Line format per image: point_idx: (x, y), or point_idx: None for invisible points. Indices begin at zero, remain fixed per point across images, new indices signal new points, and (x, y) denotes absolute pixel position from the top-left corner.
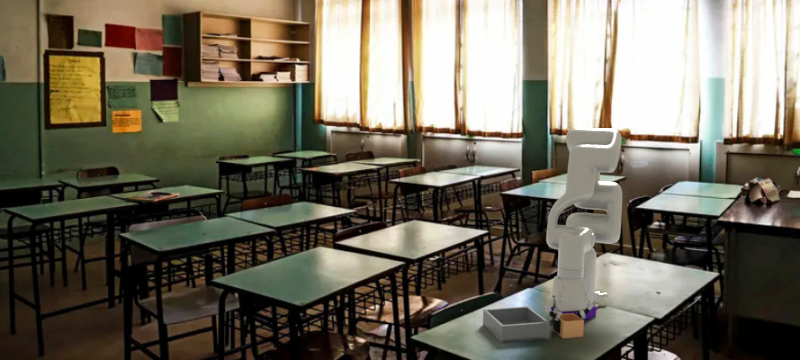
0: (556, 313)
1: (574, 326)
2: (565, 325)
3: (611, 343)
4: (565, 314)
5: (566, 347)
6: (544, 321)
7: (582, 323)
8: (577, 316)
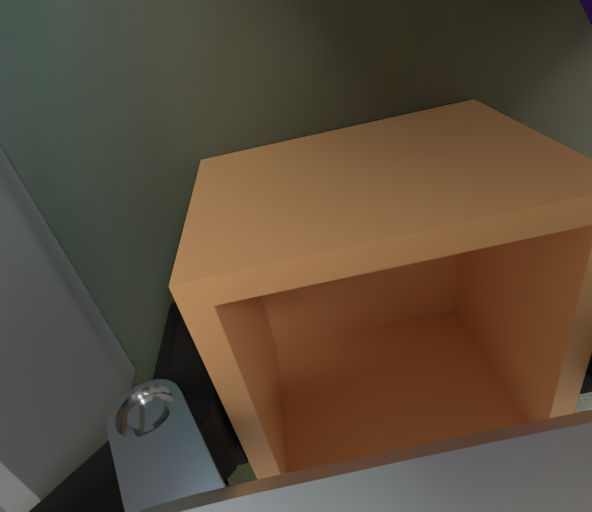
0: (200, 462)
1: (406, 414)
2: (296, 458)
3: (588, 401)
4: (433, 258)
5: (247, 471)
6: (10, 493)
7: (520, 419)
8: (580, 348)
